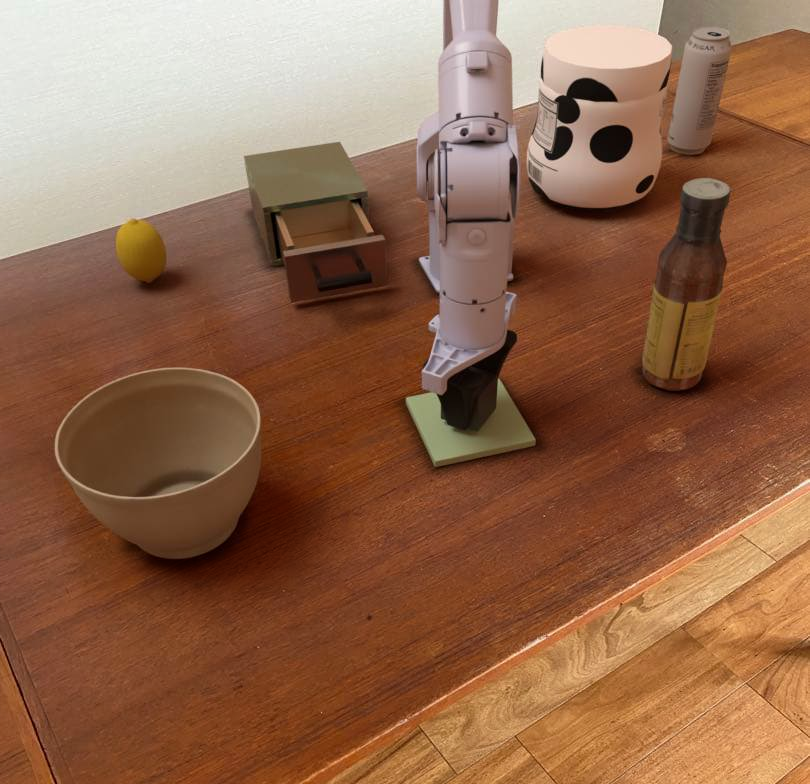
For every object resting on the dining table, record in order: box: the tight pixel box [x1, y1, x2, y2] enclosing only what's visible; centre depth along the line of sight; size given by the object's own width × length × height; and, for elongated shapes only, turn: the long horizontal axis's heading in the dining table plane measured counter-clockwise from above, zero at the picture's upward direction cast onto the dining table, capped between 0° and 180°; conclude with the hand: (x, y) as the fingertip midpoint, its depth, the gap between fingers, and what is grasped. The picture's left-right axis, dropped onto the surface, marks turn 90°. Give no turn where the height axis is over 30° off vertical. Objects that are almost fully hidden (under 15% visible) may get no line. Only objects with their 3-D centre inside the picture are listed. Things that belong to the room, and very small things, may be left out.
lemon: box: [115, 217, 167, 284], centre depth 101 cm, size 6×6×8 cm
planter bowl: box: [54, 367, 262, 560], centre depth 73 cm, size 16×16×11 cm
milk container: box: [526, 24, 673, 212], centre depth 110 cm, size 17×17×18 cm
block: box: [441, 366, 499, 431], centre depth 82 cm, size 4×4×4 cm
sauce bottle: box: [641, 177, 731, 392], centre depth 82 cm, size 7×6×20 cm
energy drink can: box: [667, 26, 733, 156], centre depth 120 cm, size 6×6×15 cm
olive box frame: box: [243, 141, 371, 267], centre depth 109 cm, size 15×13×8 cm
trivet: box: [405, 378, 537, 468], centre depth 84 cm, size 10×10×1 cm
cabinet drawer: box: [272, 199, 388, 303], centre depth 101 cm, size 18×11×6 cm, turn 16°
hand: (469, 412), depth 84 cm, fingers closed on block, 4 cm apart
